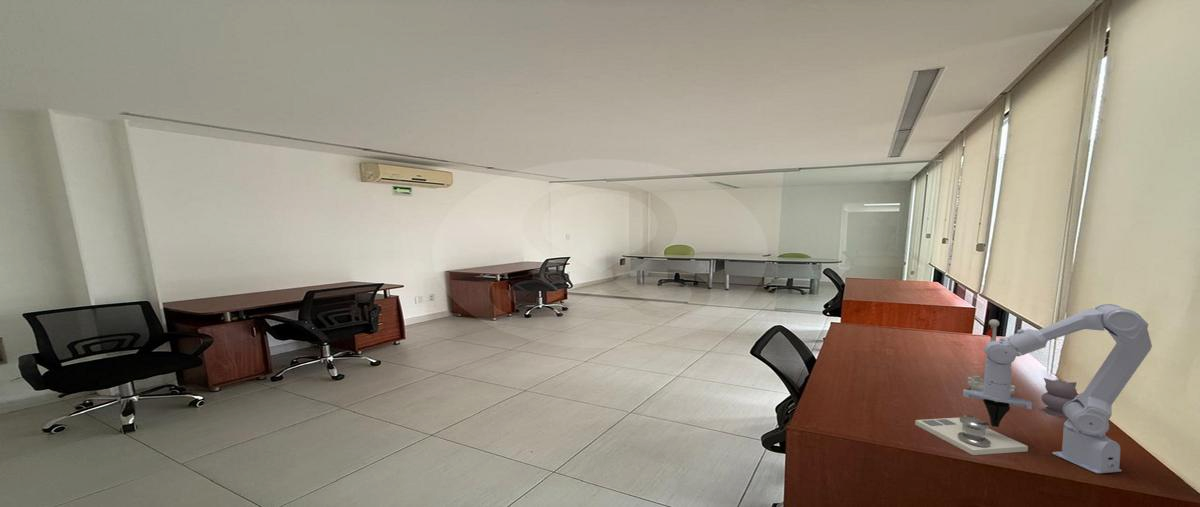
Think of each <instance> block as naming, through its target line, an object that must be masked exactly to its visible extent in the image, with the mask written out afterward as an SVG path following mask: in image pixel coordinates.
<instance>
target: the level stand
mask: <svg viewBox="0 0 1200 507" xmlns="http://www.w3.org/2000/svg"><path fill="white" fill-rule="evenodd" d="M914 425H915V426H917V427H919V428H920V429H923V430H924V431H927V432H928V433H930V434H932V435H934V436H936V437H938V438H939V439H941V440H943V441H946V442H947V443H948V444H951V445H953V446H955V447H956V448H959V449H961V451H965V452H966V453H967V454H970V455H972V456H980V455H981V456H983V455H995V454H996V455H998V454H1010V453H1021V452H1022V453H1023V452H1026V453H1027V452H1028V451H1029V446H1028V445H1026V444H1024V443H1022V442H1020V441H1017V440H1015V439H1013V438H1011V437H1009V436H1006V435H1004V434H1002V433H999V432H998V431H995V430H993V429H991V428H989V429H986V433H985V438H986V439H988V440H989V441H990V442H991V445H990V446H986V447H985V446H977V445H973V444H970V443H967V442H965V441H963V440H961V439H960V438H959V437H958V433H960V432H962V425H963V424H962V423H961V422H960V417H947V418H945V417H944V418H932V419H931V418H929V419H928V418H927V419H915V420H914Z"/></svg>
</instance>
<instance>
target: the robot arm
mask: <svg viewBox="0 0 1200 507" xmlns="http://www.w3.org/2000/svg"><path fill="white" fill-rule="evenodd" d="M1148 327H1149V323H1148V322H1147V321H1146V320H1145V319H1144V318H1143V317H1142V315H1141V314H1139V313H1137V312H1136V311H1135V310H1132V309H1128V308H1125V307H1121V306H1120V305H1116V304H1112V303H1105V304H1104V303H1103V304H1100V305H1097V306H1095V307H1094V308H1093V307H1091V308H1087V309H1084V310H1082V311H1080V312H1078V313H1076V314H1072V315H1071V316H1068V317H1066V318H1064V319H1062V320H1059V321H1056V322H1055V323H1051V324H1050V325H1047V326H1045V327H1043V328H1040V329H1038V330H1036V329H1035V330H1034V329H1030V328H1028V329H1022V328H1020V329H1018V330H1016V331H1017V332H1016V333H1013V334H1012V335H1009V336H1006V337H1004V338H1003V336H1002V337H1000V338H998V340H996V341H991V342H990V341H989V342H988V343H986V345H985V346H984V347H983V351H984V353H985V355H986V356H985V364H984V375H983V379H984V389H983V391H974V390H971V389H965V388H964V389H963V390H962V395H963V397H964V398H967V399H968V398H971V399H976V400H977V399H978V400H982V401H983V403H984V406H985V408H986V410H987V413H988V416H989V421H990V425H991V426H992V427H996V428H999V427H1000V423H1001V421H1002V419H1003V418H1004V417H1005V415H1006V414H1007V413H1009V411H1010V409H1011V406H1015V407H1021V408H1025V409H1027V410H1033V403H1032V402H1031V400H1029V399H1022V398H1018V397H1014V396H1010V391H1011V385H1012V374H1013V373H1012V371H1013V369H1012V364H1013V362H1015V360H1016V357H1021V356H1025V355H1027V354H1030V353H1033V352H1035V351H1039V350H1042V349H1044V348H1046V347H1047V344H1048V342H1050V341H1051V340H1055V339H1057V338H1061V337H1065V336H1068V335H1071V334H1073V333H1076V332H1079V331H1082V330H1089V331H1090V330H1091V331H1101V332H1102V331H1105V330H1106V331H1107V332H1108V334H1109V335H1110V336H1111V337H1112V339H1113V340H1114V341H1115V344H1114V346H1113V348H1112V349H1111V350H1110V352H1109V354H1107V356H1106V358H1105V360H1103V362H1102V364H1101V365H1100V367H1099V369H1098V370H1097V371H1096V373H1095V374H1094V376H1093V377H1092V378H1091V379H1090V382H1089V384H1088V385H1087V387H1086V388H1085V389H1084V391H1082V392H1080V393H1077V394H1076V395H1075V396H1074V397H1073V398H1074V399H1073V400H1072V401H1069V402H1067V403H1065V404H1064V406H1063V413H1064V414H1065V416H1066V417H1067V418H1066V421H1065V422H1064V423H1063V428H1062V429H1063V430H1062V445H1061V446H1062V447H1061V451H1053V452H1052V455H1054V456H1057V457H1059V458H1062V459H1064V460H1065V461H1068V462H1070V463H1072V464H1074V465H1077V466H1078V467H1081V468H1083V469H1085V470H1088V471H1090V472H1093V473H1095V474H1106V473H1119V472H1122V469H1120V463H1121V462H1120V460H1121V445H1120V443H1118V442H1117V441H1115V440H1113V439H1112V438H1109V437H1108V436H1107V435H1106V433H1107V432H1108V431H1109V429H1110V422H1109V421H1110V419H1111V417H1112V415H1113V414H1112V411H1113V410H1112V406H1113V404H1114V403H1115V401H1116V399H1117V398H1118V397H1119V395H1120V393H1122V391H1123V389H1124V388H1125V387H1126V385H1127V383H1128V382H1129V381H1130V380H1131V378H1132V377H1133V375H1134V374H1135V373H1136V371H1137V370H1138V368H1139V367H1140V366H1141V364H1142V362H1143V361H1144V359H1145V358H1146V357H1147V356H1148V354H1149V353H1150V351H1151V350H1152V347H1153V346H1152V341H1151V337H1150V334H1149V330H1148Z"/></svg>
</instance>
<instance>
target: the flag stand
mask: <svg viewBox="0 0 1200 507" xmlns="http://www.w3.org/2000/svg"><path fill="white" fill-rule="evenodd" d="M988 325H989V326H990V329H989V330H988V331H987V332H986V333H985V334H986V335H987V336H988V337H989V338H990V341H989V342H991V341H997V327H999V326H1000V321H999V320H998V319H993V318H992V319H990V320H989V321H988ZM967 384H968V386H969V387H970V390H974V391H983V389H984V378H981V376H979V375H972V376H968V377H967ZM1015 393H1016V386H1015V385H1013V384H1011V391H1010V396H1011V395H1014V394H1015ZM1011 397H1012V396H1011Z"/></svg>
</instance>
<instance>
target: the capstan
mask: <svg viewBox="0 0 1200 507" xmlns="http://www.w3.org/2000/svg"><path fill="white" fill-rule="evenodd" d="M959 418H960V422H961V423H962V424H963V425H962V432H960V433H958V437H959V438H960V439H961V440H963V441H965V442H967V443H970V444H973V445H977V446H985V447H986V446H990V445H991V442H990V441H989V440H988V439H986V438H985V433H986V429H990V423H988V422H986V421H984V420H983V419H980V418H976V417H974V415H972V414H968V413H966V414H965V415H963V416H961V417H959Z"/></svg>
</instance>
